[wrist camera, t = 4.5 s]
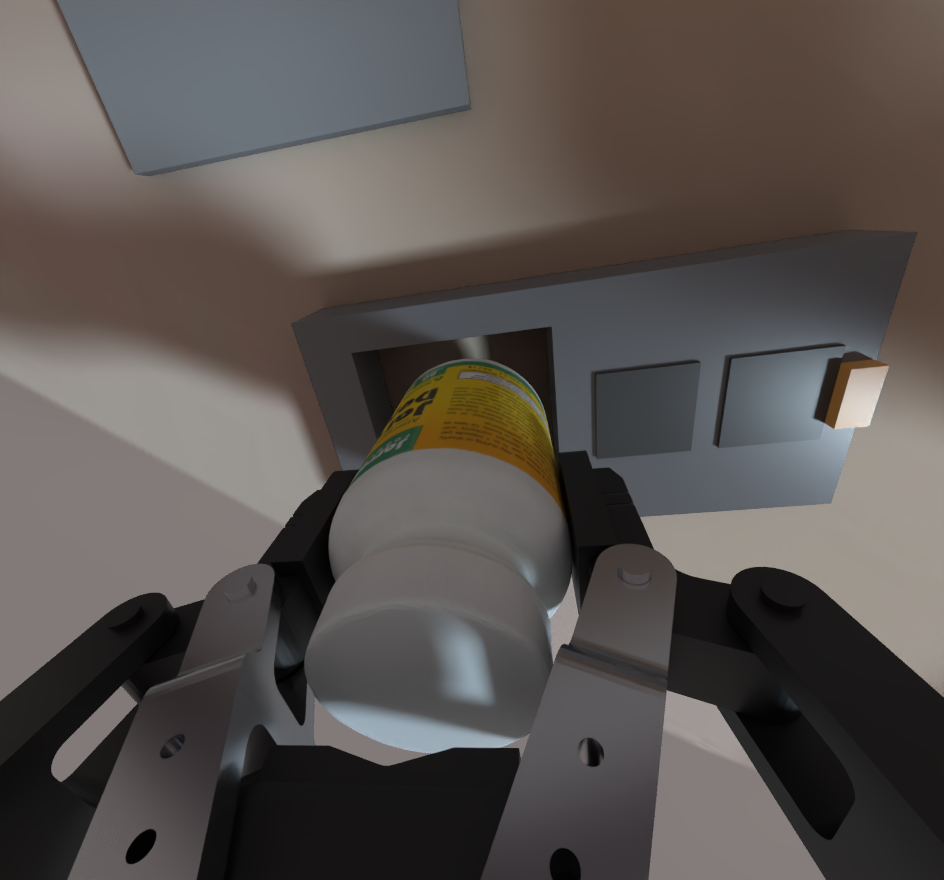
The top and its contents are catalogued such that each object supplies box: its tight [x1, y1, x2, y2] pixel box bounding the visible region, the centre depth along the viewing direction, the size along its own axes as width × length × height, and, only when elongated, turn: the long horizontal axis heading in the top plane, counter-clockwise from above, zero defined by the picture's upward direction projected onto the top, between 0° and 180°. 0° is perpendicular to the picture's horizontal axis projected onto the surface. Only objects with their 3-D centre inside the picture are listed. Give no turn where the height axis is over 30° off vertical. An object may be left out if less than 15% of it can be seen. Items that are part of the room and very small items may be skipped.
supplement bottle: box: [304, 358, 573, 753], centre depth 11 cm, size 5×5×10 cm
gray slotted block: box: [292, 230, 917, 517], centre depth 15 cm, size 18×9×3 cm, turn 99°
